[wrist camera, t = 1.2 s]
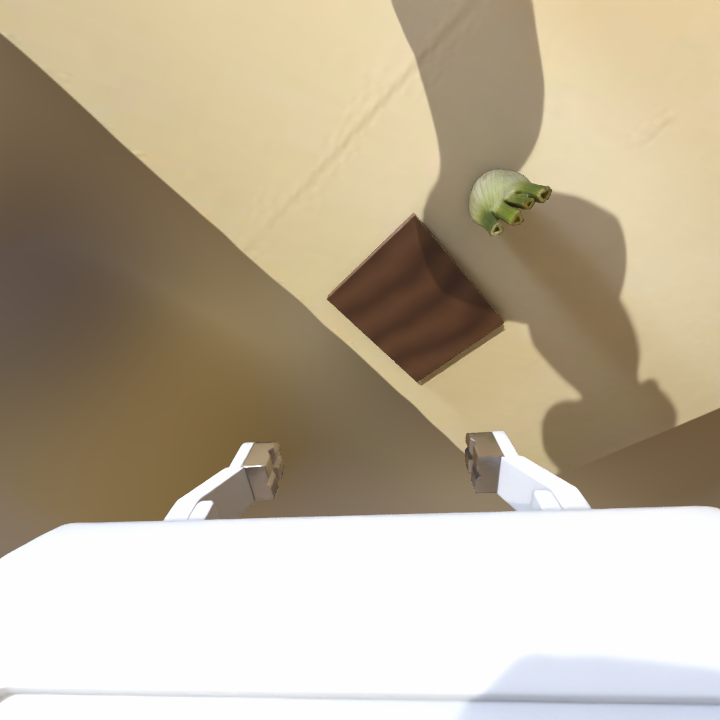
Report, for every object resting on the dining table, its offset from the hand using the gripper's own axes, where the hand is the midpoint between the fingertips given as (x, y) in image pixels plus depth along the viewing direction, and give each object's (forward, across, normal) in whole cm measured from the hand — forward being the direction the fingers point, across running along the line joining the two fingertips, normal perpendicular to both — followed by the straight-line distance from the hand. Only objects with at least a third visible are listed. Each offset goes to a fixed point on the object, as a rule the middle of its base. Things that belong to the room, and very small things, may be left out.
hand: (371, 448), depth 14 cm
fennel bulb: (+34, -14, -10) cm, 38 cm away
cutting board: (+36, -6, +4) cm, 37 cm away
